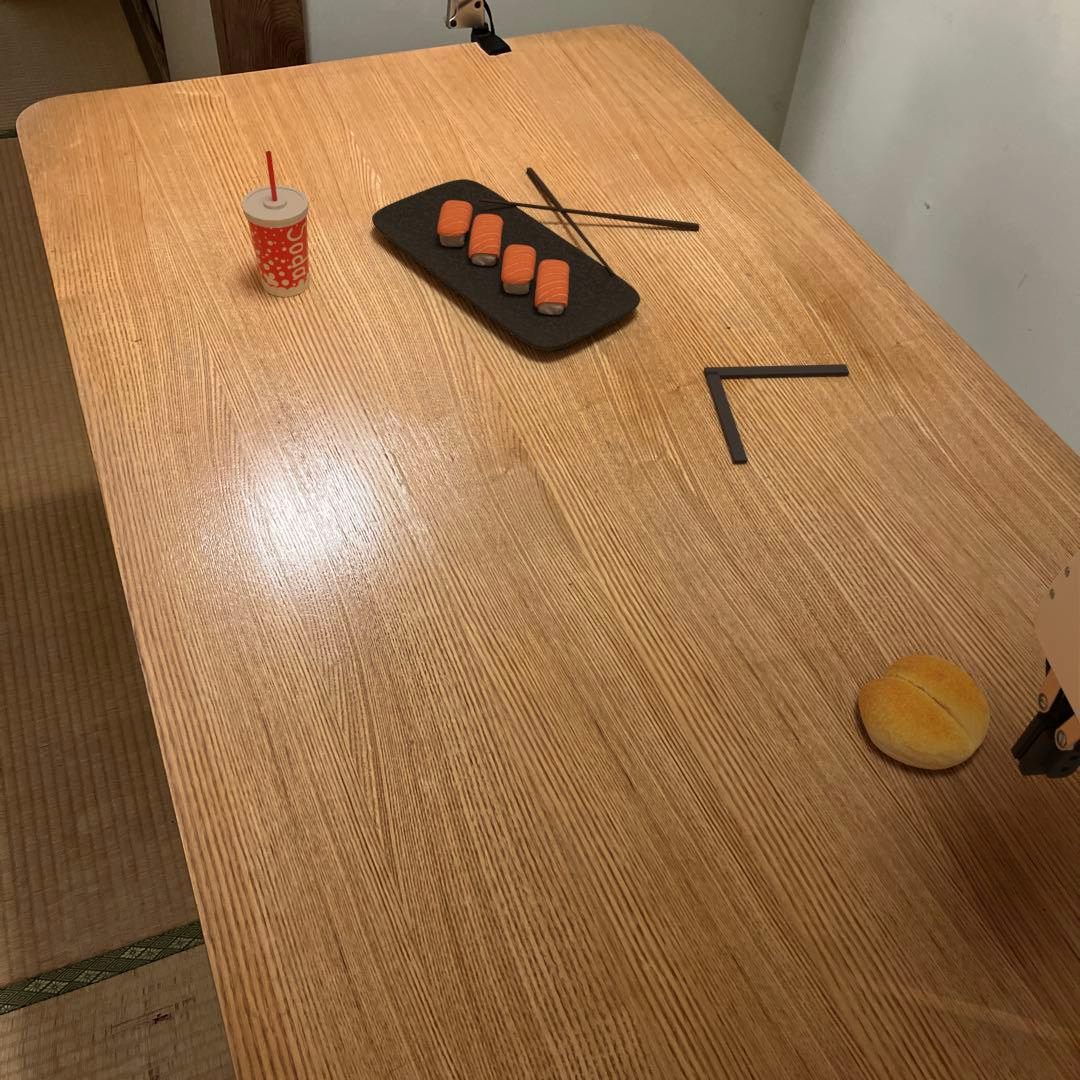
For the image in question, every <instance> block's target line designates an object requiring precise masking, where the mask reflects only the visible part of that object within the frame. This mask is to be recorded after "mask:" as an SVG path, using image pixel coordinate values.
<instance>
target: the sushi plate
mask: <svg viewBox="0 0 1080 1080" xmlns="http://www.w3.org/2000/svg"><path fill="white" fill-rule="evenodd" d="M526 174H527V175H528V177H530V179H531V180H532V181H533V183H534V184H535V185H536V186H537V187H538V188H539V190H540V191H541V192H542V193H543V195H544V196H545V197H546V198H547V199H548V200H549V202H550V203H551V204H552V205H553V206H551V205H550V206H549V205H541V204H534V203H533V204H531V203H524V202H514V201H509V200H508V199H506V198H505V197H503V196H502V195H500V194H498V193H497V192H496V191H494V190H493V189H491V188H489V187H487V186H486V185H484V184H482V183H481V182H477V181H475V180H472V179H467V178H465V179H464V178H463V179H462V178H461V179H454V180H450V181H447V182H443V183H441V184H438V185H435V186H432V187H430V188H427V189H424V190H422V191H421V190H420V191H419V192H416V193H413V194H411V195H409V196H406V197H403V198H400V199H399V200H397V201H394V202H392V203H389V204H387V205H384V206H383V207H381V208H379V209H378V210H377V211H376V212H374V213H373V215H372V216H371V221H372V224H373V226H374V227H375V229H376V230H377V231H378V232H379V233H380V234H381V235H382V236H383V237H384V238H386V239H387V240H388V241H389V242H391V243H392V244H393V245H394V246H396V248H398V249H399V250H400V251H402V252H403V253H404V254H405V255H406V256H408V257H410V258H411V259H412V260H414V261H415V262H416V263H417V264H418V265H420V266H421V267H422V268H424V269H425V270H426V271H428V272H429V273H431V275H433V276H434V277H436V278H437V279H439V280H440V281H441V282H442V283H443V284H445V285H446V286H448V287H449V289H452V290H453V291H454V292H455V293H457V294H458V295H459V296H460V297H462V298H463V299H465V300H466V302H469V304H471V305H472V306H474V307H475V308H476V309H477V310H479V311H480V312H481V313H483V314H484V315H485V316H487V317H488V318H489V319H490V320H492V321H493V322H494V323H496V324H497V325H498V326H500V328H502V329H504V330H505V331H506V332H508V333H509V334H510V335H512V336H513V337H515V338H516V339H518V340H519V341H521V342H523V343H524V344H526V345H528V346H529V347H531V348H534V349H537V350H540V351H554V350H559V349H562V348H565V347H568V346H570V345H572V344H575V343H577V342H579V341H581V340H583V339H585V338H587V337H589V336H591V335H593V334H595V333H598V332H599V331H601V330H603V329H605V328H607V327H609V326H611V325H612V324H614V323H616V322H618V321H619V320H622V319H623V318H625V317H627V316H628V315H629V314H631V313H632V312H633V311H635V310H636V309H637V307H638V306H639V305H640V303H641V297H640V294H639V292H638V290H636V289H635V288H634V287H633V286H632V285H631V284H630V283H628V282H627V281H626V280H624V279H623V278H622V277H621V276H619V275H618V274H616V273H615V272H614V270H613V269H612V268H611V267H610V265H609V264H608V263H607V261H606V260H605V259H604V258H603V257H602V255H601V254H600V253H599V252H598V250H597V249H596V248H595V246H593V244H592V243H591V242H590V240H589V239H588V238H587V237H586V235H585V234H584V233H583V232H582V230H581V229H580V228H579V226H578V225H577V224H576V223H575V221H574V220H573V219H572V218H571V216H570V215H569V214H573V215H579V216H580V215H581V216H587V217H595V218H601V219H602V218H603V219H610V220H615V221H624V222H628V223H629V222H630V223H638V224H644V225H652V226H657V227H658V226H659V227H666V228H673V229H680V230H681V229H682V230H689V231H699V230H700V224H699V223H698V222H690V221H683V220H672V219H663V218H655V217H647V216H637V215H628V214H619V213H610V212H601V211H592V210H582V209H573V208H565V207H563V206H562V204H561V203H560V202H559V201H558V199H557V197H555V195H554V194H553V192H551V190H550V189H549V187H548V186H547V185H546V184H545V183H544V181H543V180H542V179H541V178H540V176H539V175H538V174H537V172H536V171H535V170H534V169H533V167H526ZM519 207H520V208H519ZM521 208H527V209H536V210H544V211H550V212H558V213H560V215H561V216H562V217H563V218H564V219H565V220H566V221H567V223H568V224H569V225H570V226H571V227H572V229H573V230H574V231H575V232H576V233H577V235H578V236H579V237H580V238H581V239H582V241H583V242H584V244H586V246H587V247H588V248H589V249H590V250H591V252H592V253H593V254H594V255H595V256H596V258H597V259H598V261H597V260H596V259H594V258H593V257H591V256H590V255H588V254H587V253H585V252H584V251H583V250H581V249H579V248H578V247H576V246H575V245H574V244H573V243H571V242H569V241H568V240H567V239H565V238H564V237H562V236H561V235H559V234H558V233H557V232H554V231H553V230H552V229H551V228H549V227H547V226H546V225H544V224H543V223H541V222H540V221H538V220H537V219H536V218H534V217H532V216H531V215H530V214H529V213H528V212H527V213H526V212H525V211H524V210H523V209H521ZM599 261H600V262H599Z"/></svg>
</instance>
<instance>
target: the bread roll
mask: <svg viewBox="0 0 1080 1080" xmlns="http://www.w3.org/2000/svg"><path fill="white" fill-rule="evenodd" d="M857 698H858V700H857V703H858V709H859V714H860V718H861V721H862V723H863V725H864V728H865V730H866V733H867V734H868V736H869V739H870V740H871V742H872V744H873V745H875V746H876V747H877V748H878V750H880V751H881V752H882V753H883V754H885V755H887V756H889V757H890V758H891V759H893V760H896V761H897V762H899V763H902V764H904V765H906V766H911V767H915V768H918V769H919V768H920V769H925V770H935V771H936V770H946V769H948V768H952V767H954V766H958V765H959V764H962V763H964V762H966V761H967V760H968V759H969V758H970V757H972V755H973V754H975V752H976V751H977V750H978V748H980V746H982V744H983V742H984V741H985V738H986V737H987V733H988V729H989V727H990V724H991V713H990V707H989V701H988V700H987V699H986V697H985V695H984V693H983V691H982V690H981V689H980V687H979V686H978V684H977V683H976V681H974V679H972V678H971V676H969V675H968V673H966V672H965V671H964V670H962V669H961V668H960V667H959V666H957V665H956V664H954V663H953V662H951V661H949V660H947V659H945V658H942V657H940V656H936V655H932V654H927V653H926V654H925V653H914V654H913V653H912V654H908V655H904V656H902V657H900V658H898V659H896V660H895V661H893V663H891V664H890V665H889V666H888V667H887V668H886V670H885V671H884V672H883V675H882V676H881V677H878V678H875V679H871V680H869V681H868V682H867V683H866V684H865V685H864V686H862V687H861V690H860V692H859V694H858V697H857Z"/></svg>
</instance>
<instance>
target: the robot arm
mask: <svg viewBox="0 0 1080 1080" xmlns="http://www.w3.org/2000/svg"><path fill="white" fill-rule="evenodd" d="M1032 620H1033V629H1034V632H1035V633H1034V634H1035V636H1036V638H1037V641H1038V643H1039V645H1040V648H1041V651H1042V652H1043V654H1044V656H1045V661H1044V664H1045V678H1044V681H1043V683H1042V684H1041V686H1040V688H1039V690H1038V692H1037V695H1036V698H1035V699H1036V700H1035V701H1036V706H1037V709H1038V710H1039V711H1038V712H1037V713H1036V714H1035V716H1033V718H1032V719H1031V721H1030V722H1029V723H1028V725H1027V726H1026V728H1025V729H1024V731H1023V732H1022V733H1021V735H1020V736H1019V737H1018V739H1017V740H1016V741H1015V742H1014V744H1013V745H1012V746H1011V747H1010V753H1011V755H1012V757H1013V760H1017V761H1018V765H1017V768H1018V770H1019V773H1020V774H1021V776H1024V777H1030V776H1031V777H1032V776H1044V775H1045V776H1046V778H1048V779H1054V780H1055V779H1064V778H1067V777H1069V776H1071V775H1073V774H1074V773H1075V772H1077V770H1078V769H1079V767H1080V548H1079V549H1078V550H1077V551H1076V552H1075V553H1074V555H1072V557H1071V558H1070V559H1069V560H1068V562H1067V563H1066V564H1065V565H1064V567H1062V569H1061V571H1060V572H1059V573H1058V574H1057V576H1056V577H1055V578H1054V579H1053V581H1052V582H1051V584H1050V585H1049V587H1048V588H1047V589H1046V591H1045V593H1044V594H1043V596H1042V598H1041V599H1040V601H1039V603H1038V605H1037V607H1036V610H1035V613H1034V616H1033V619H1032Z"/></svg>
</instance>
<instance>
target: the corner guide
mask: <svg viewBox="0 0 1080 1080" xmlns="http://www.w3.org/2000/svg"><path fill="white" fill-rule="evenodd" d="M703 373H704V375H705V380H706V383H707V386H708V390H709V392H710V395H711V398H712V401H713V404H714V407H715V410H716V413H717V417H718V420H719V423H720V425H721V429H722V433H723V436H724V439H725V442H726V445H727V448H728V451H729V454H730V458H731V460H732V464H734V465H745V464H747V463H748V461H749V460H748V456H747V453H746V451H745V448H744V444H743V441H742V439H741V435H740V433H739V429H738V427H737V424H736V421H735V418H734V414H733V412H732V409H731V406H730V402H729V400H728V396H727V394H726V390H725V388H724V385H723V382H722V379H725V380H726V379H727V380H729V379H730V380H731V379H769V378H770V379H771V378H809V377H810V378H811V377H812V378H813V377H818V378H819V377H848V376H849V374H850V370H849V368H848V365H847V364H846V363H841V364H840V363H838V364H792V365H789V364H788V365H750V366H746V365H745V366H705V367H704V368H703Z"/></svg>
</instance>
